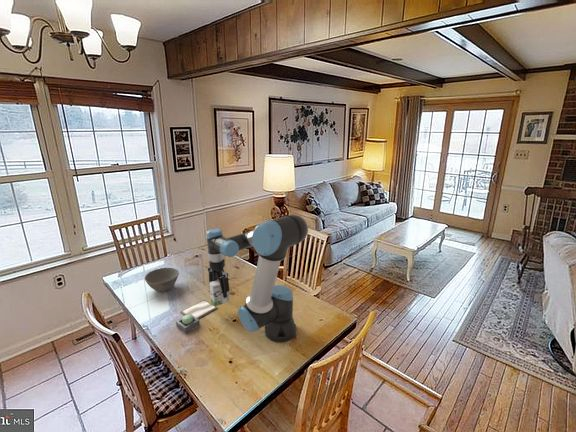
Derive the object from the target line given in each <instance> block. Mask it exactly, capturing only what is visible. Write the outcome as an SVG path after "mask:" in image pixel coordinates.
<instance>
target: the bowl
mask: <svg viewBox="0 0 576 432" xmlns="http://www.w3.org/2000/svg"><path fill="white" fill-rule="evenodd" d="M179 272H180V271H179V270H178V269H177V268H174V267H161V268H156V269H153V270H151V271H149V272H148V273H146V274H145V275H144V280H145V282H146V284H147V285H148V286H149V288H151V289H153V290H154V291H156V292H168V291H169V290H171V289H173V287H174V286H175V284H176V282H177V281H178V278H179V275H180V273H179Z"/></svg>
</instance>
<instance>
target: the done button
mask: <svg viewBox="0 0 576 432" xmlns="http://www.w3.org/2000/svg"><path fill="white" fill-rule="evenodd" d="M181 318H182V324H183V325H185V326H187V325H189V324H191V323H192V322H193V316H192V315H185V316H184V315H183V316H182V317H181Z"/></svg>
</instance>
